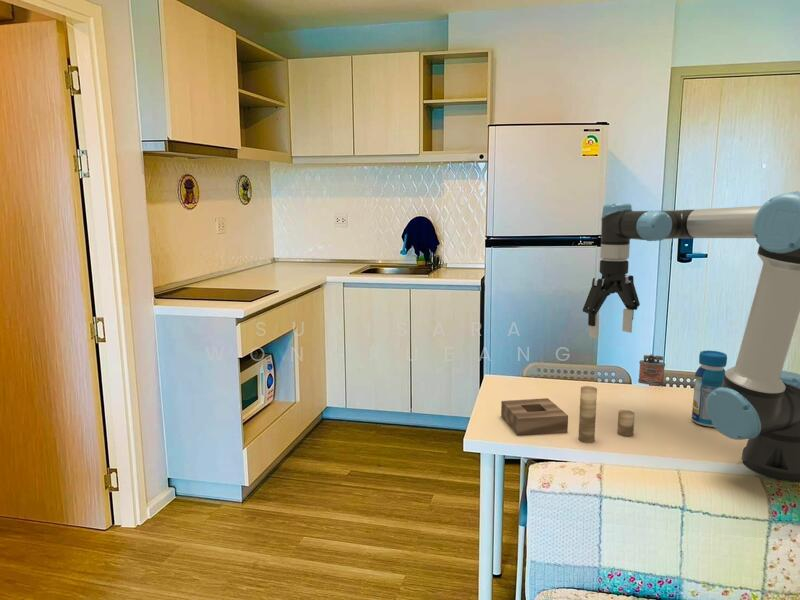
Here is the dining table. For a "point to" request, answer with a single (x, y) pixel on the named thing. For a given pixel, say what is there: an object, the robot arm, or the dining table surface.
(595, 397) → the long pin
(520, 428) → the pin block
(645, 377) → the lighter
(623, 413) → the short pin
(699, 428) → the dining table surface
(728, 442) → the dining table surface
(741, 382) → the robot arm
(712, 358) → the beverage bottle
